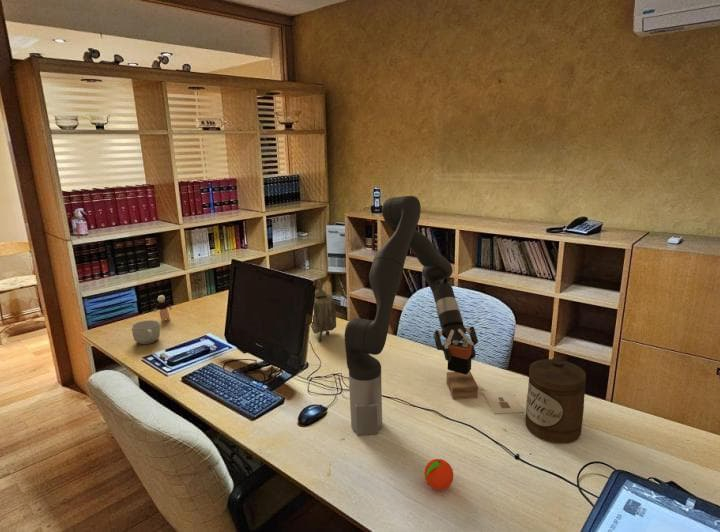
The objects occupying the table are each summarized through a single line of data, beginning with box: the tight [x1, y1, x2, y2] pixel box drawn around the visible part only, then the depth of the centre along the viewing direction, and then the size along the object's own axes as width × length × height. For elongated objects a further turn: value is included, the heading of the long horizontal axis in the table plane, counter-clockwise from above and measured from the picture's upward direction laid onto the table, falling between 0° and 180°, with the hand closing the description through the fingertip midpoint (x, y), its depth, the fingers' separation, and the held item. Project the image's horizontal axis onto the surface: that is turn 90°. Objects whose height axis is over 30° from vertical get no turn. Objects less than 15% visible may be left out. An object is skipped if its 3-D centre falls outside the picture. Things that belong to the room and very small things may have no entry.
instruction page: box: [482, 390, 524, 415], centre depth 148 cm, size 12×9×1 cm
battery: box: [447, 340, 472, 374], centre depth 155 cm, size 4×7×10 cm, turn 57°
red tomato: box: [423, 458, 454, 491], centre depth 113 cm, size 8×7×7 cm
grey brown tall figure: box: [310, 278, 337, 342], centre depth 198 cm, size 14×9×25 cm, turn 17°
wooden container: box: [525, 356, 587, 445], centre depth 132 cm, size 15×15×22 cm
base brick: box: [446, 370, 479, 400], centre depth 155 cm, size 10×8×4 cm
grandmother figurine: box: [153, 294, 173, 323], centre depth 221 cm, size 8×4×13 cm, turn 130°
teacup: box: [130, 319, 161, 345], centre depth 199 cm, size 14×11×8 cm
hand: (461, 359), depth 153 cm, fingers closed on battery, 7 cm apart
